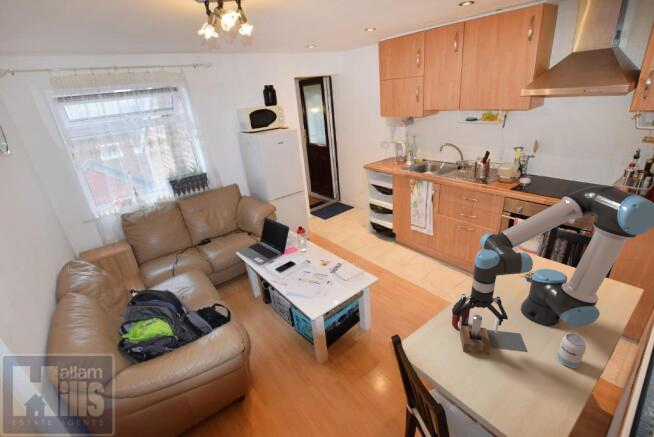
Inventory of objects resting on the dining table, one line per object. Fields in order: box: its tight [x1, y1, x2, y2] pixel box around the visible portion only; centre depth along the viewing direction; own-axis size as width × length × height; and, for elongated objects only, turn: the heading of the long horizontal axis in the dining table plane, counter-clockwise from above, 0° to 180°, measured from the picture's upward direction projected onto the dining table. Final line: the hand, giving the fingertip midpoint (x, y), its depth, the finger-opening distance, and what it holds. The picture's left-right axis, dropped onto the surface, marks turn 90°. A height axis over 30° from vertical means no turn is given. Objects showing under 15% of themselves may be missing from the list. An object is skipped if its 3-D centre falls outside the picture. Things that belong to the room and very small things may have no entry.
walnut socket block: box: [459, 325, 492, 356], centre depth 126 cm, size 10×10×5 cm
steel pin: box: [471, 314, 483, 340], centre depth 124 cm, size 3×3×15 cm
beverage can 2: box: [556, 333, 587, 369], centre depth 113 cm, size 7×7×12 cm
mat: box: [486, 329, 529, 353], centre depth 127 cm, size 14×10×1 cm
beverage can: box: [451, 301, 471, 331], centre depth 134 cm, size 7×7×12 cm
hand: (476, 328), depth 123 cm, fingers open, 13 cm apart
